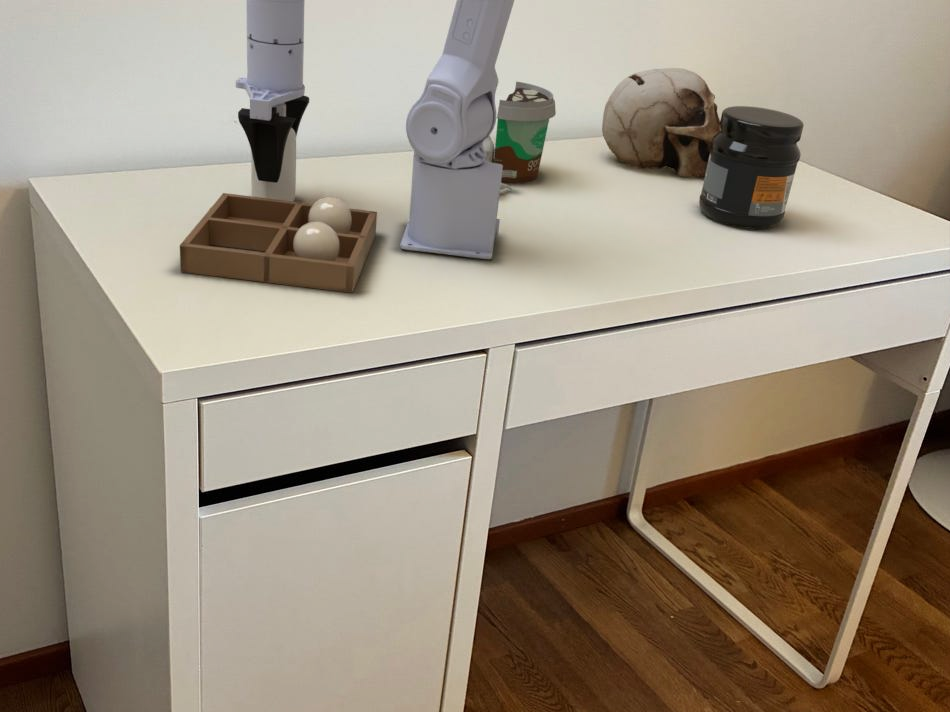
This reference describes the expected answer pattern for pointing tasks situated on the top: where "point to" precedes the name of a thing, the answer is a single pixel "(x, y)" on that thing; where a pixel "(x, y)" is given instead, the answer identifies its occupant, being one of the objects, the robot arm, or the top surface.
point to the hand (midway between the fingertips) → (274, 172)
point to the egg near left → (331, 214)
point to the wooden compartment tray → (272, 244)
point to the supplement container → (751, 167)
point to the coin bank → (662, 121)
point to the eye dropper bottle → (287, 179)
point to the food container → (522, 132)
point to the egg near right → (316, 242)
